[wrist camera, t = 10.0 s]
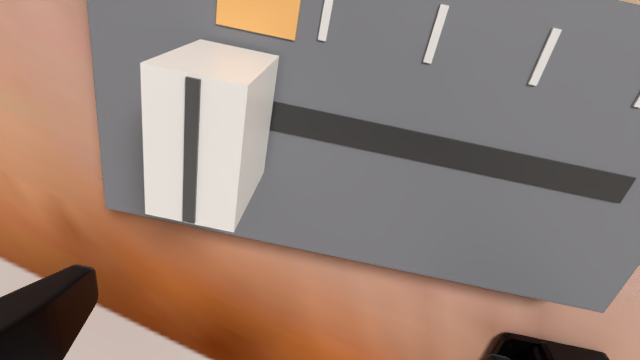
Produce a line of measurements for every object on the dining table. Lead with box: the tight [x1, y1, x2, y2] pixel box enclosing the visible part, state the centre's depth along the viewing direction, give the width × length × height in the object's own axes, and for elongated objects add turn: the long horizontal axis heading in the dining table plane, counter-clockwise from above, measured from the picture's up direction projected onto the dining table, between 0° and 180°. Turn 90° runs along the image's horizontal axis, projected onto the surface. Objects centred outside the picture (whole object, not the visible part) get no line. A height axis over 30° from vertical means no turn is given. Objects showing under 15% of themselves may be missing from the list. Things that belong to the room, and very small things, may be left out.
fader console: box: [87, 0, 640, 313], centre depth 17 cm, size 13×25×3 cm, turn 80°
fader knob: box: [140, 39, 279, 233], centre depth 14 cm, size 5×3×5 cm, turn 170°
